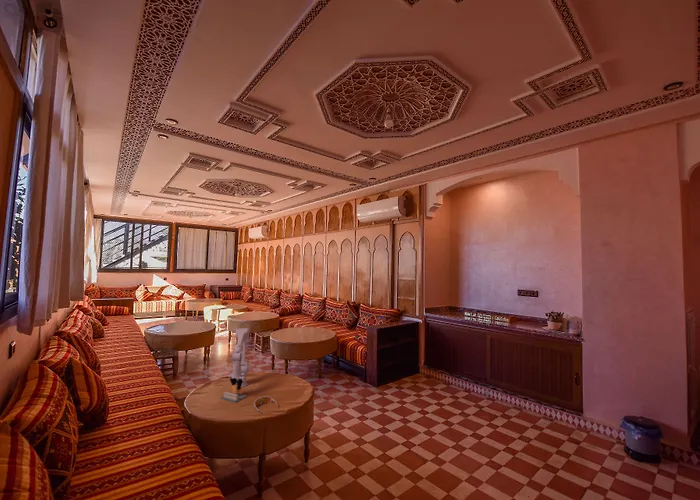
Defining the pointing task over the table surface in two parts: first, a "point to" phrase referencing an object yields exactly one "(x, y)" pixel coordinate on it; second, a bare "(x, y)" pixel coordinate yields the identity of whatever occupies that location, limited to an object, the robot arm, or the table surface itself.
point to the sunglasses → (263, 401)
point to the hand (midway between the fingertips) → (236, 388)
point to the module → (235, 389)
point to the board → (233, 397)
